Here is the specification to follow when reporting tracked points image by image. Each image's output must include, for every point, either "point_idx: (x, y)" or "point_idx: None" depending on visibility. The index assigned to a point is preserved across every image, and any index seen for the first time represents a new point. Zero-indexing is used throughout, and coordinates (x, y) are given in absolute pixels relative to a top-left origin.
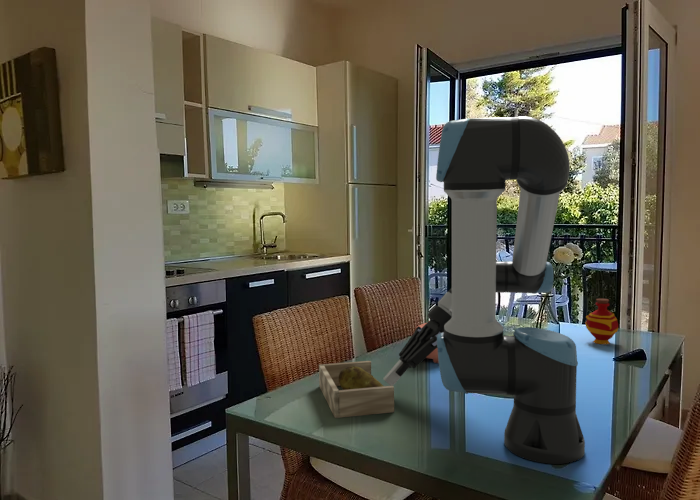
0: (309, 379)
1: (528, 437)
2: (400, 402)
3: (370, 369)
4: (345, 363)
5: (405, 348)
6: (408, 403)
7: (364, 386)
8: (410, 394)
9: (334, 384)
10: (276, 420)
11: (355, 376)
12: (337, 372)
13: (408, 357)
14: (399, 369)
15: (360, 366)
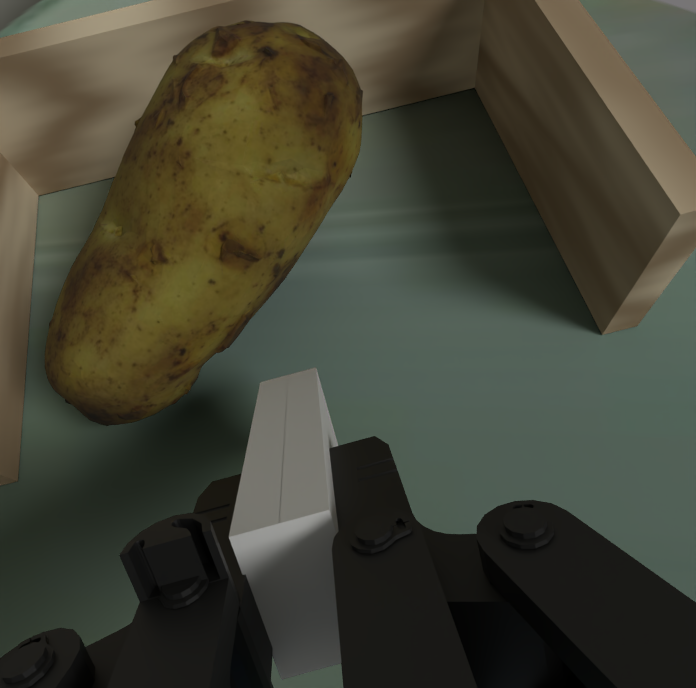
0: (613, 9)
1: None
2: None
3: (644, 260)
4: (572, 34)
5: (590, 666)
6: (118, 623)
7: (94, 227)
8: (332, 672)
9: (51, 41)
10: (67, 9)
11: (140, 121)
12: (518, 57)
13: (108, 685)
14: (204, 515)
15: (610, 159)
